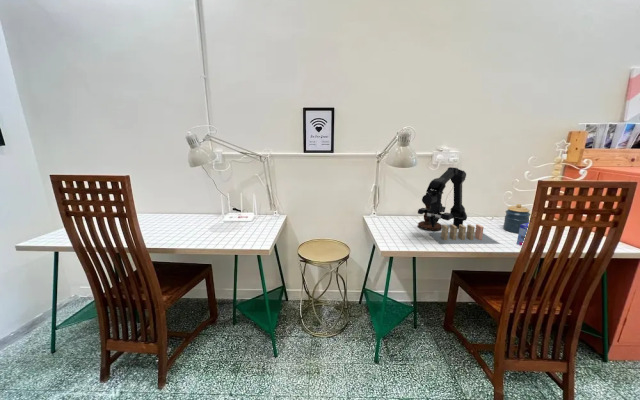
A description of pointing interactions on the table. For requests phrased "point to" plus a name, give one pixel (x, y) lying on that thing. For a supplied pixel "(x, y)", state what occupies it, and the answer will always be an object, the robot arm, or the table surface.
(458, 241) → the mat
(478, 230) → the domino
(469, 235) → the domino
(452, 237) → the domino
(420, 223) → the brown animal figurine
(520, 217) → the canister
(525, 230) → the ink cartridge box
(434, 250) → the table surface
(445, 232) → the domino
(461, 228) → the domino
